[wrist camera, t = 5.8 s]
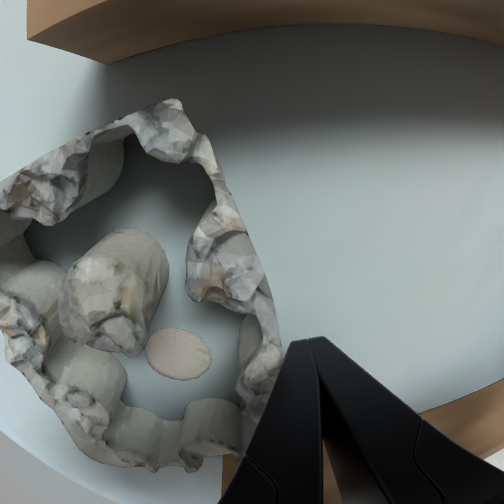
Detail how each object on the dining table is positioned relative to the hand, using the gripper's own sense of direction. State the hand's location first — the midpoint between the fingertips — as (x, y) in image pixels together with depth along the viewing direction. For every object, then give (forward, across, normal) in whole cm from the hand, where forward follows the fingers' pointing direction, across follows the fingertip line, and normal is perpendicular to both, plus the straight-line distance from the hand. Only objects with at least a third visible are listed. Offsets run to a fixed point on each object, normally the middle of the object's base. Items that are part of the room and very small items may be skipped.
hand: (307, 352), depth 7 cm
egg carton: (+3, +4, 0) cm, 5 cm away
